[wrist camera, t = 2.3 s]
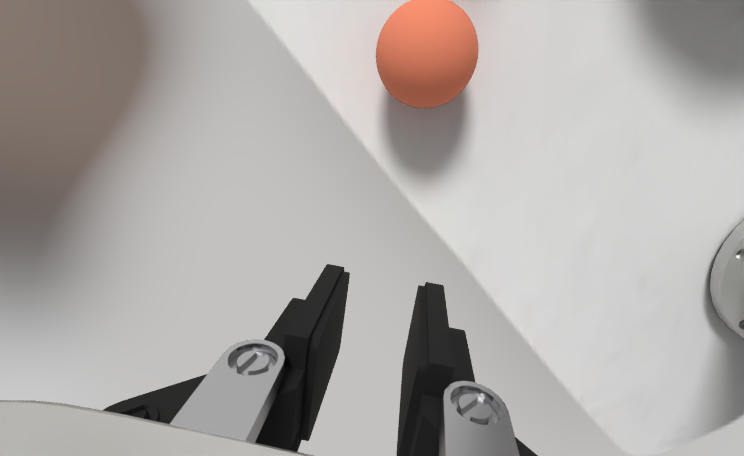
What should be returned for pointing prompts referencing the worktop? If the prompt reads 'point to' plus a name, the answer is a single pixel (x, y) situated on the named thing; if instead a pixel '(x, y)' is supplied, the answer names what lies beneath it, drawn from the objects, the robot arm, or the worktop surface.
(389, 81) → the ball
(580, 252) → the worktop surface
